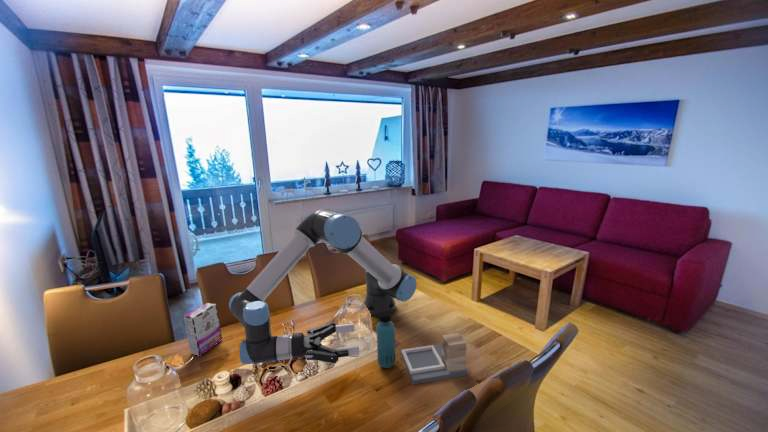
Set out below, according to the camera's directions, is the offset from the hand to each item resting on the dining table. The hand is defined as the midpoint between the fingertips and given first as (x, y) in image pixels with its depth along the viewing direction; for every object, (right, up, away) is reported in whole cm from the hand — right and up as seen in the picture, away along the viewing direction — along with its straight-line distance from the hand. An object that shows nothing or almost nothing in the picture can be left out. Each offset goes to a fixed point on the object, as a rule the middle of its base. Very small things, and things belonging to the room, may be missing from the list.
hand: (356, 337), depth 112 cm
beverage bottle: (+10, -12, +5) cm, 16 cm away
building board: (+26, -11, +5) cm, 29 cm away
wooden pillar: (+33, -10, +2) cm, 35 cm away
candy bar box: (-60, -11, +18) cm, 64 cm away
